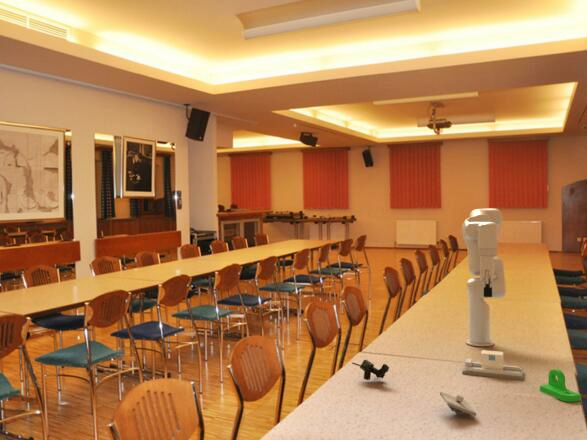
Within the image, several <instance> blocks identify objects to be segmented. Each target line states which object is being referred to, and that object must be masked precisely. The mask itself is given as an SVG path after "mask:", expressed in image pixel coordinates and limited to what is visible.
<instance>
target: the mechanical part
mask: <svg viewBox="0 0 587 440" xmlns="http://www.w3.org/2000/svg"><path fill="white" fill-rule="evenodd" d="M539 391H540V392H542V393H544V394H547V395H549V396H552V397H554V398H555V399H557V400H561V401H562V402H563V401H564V402H568V403H572V402H579V401H582V394H581V393H578V392H576V391H573V390H571V389H568V388H567V387H566V377H565V374H564V372H563V371H562V370H561V369H559V368H556V369H551V370H549V371H548V384H542V385H539Z"/></svg>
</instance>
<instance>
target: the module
mask: <svg viewBox="0 0 587 440" xmlns="http://www.w3.org/2000/svg"><path fill="white" fill-rule="evenodd" d="M480 353H481V354H480V357H481V359H480V361H481V362H480V363H481V368H482V369H492V370H501V371H503V365H504V351H497V350H484V349H482V350H481V352H480Z"/></svg>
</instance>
